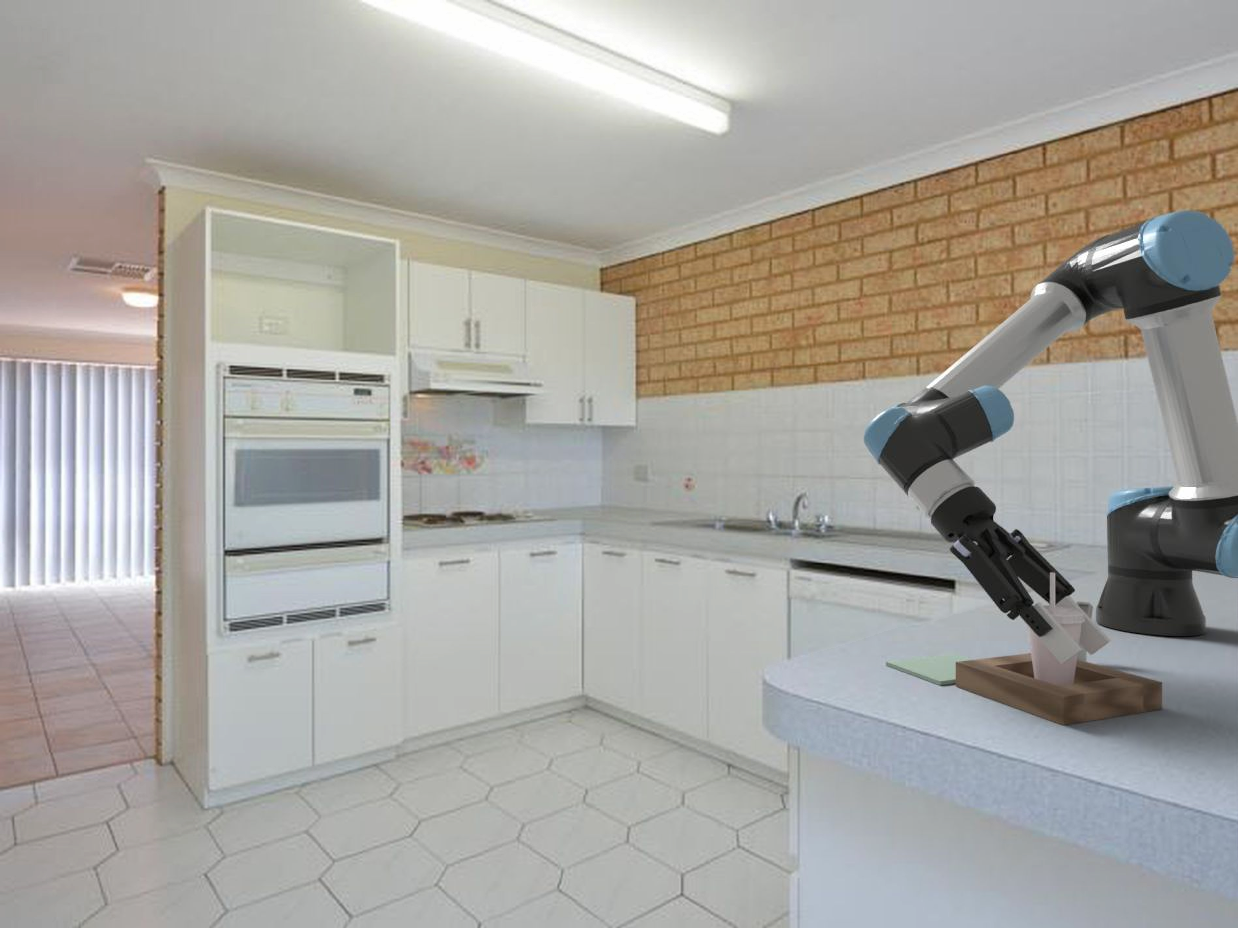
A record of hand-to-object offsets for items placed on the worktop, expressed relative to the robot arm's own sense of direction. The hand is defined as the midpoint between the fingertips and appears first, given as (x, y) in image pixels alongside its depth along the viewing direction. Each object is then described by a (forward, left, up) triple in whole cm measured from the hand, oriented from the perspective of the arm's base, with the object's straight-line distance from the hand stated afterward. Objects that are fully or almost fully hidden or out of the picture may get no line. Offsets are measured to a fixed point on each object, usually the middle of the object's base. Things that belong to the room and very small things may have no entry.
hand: (1086, 651), depth 88 cm
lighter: (-16, -14, -6) cm, 22 cm away
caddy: (+1, -3, -6) cm, 7 cm away
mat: (+4, -17, -6) cm, 18 cm away
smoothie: (+1, -3, -6) cm, 7 cm away
